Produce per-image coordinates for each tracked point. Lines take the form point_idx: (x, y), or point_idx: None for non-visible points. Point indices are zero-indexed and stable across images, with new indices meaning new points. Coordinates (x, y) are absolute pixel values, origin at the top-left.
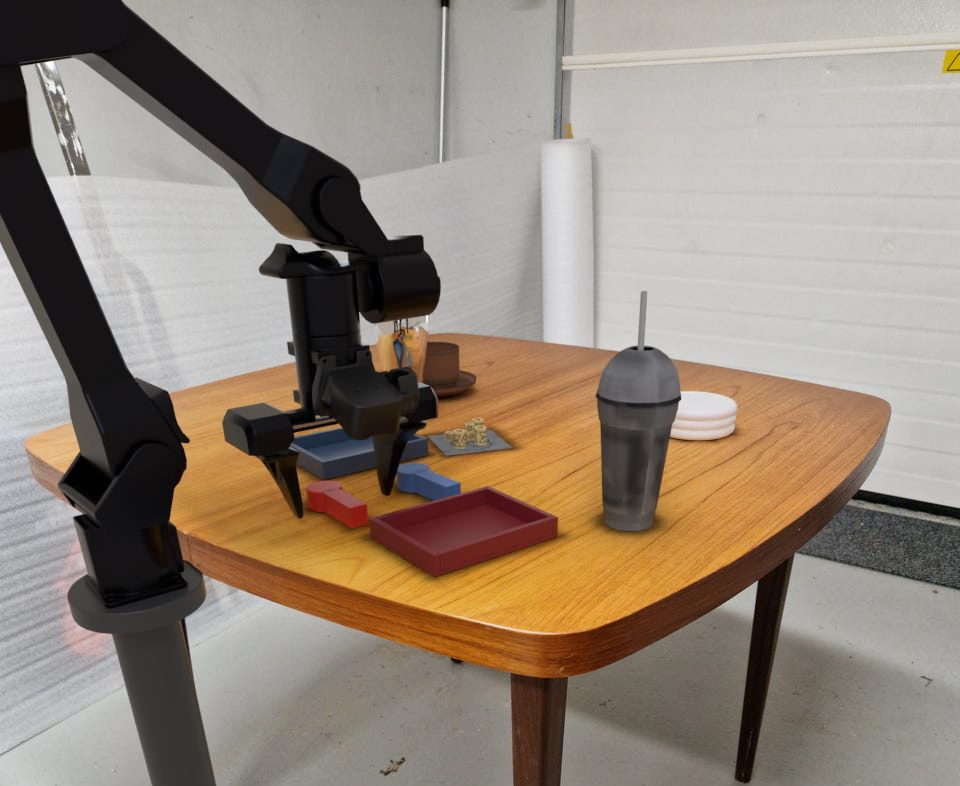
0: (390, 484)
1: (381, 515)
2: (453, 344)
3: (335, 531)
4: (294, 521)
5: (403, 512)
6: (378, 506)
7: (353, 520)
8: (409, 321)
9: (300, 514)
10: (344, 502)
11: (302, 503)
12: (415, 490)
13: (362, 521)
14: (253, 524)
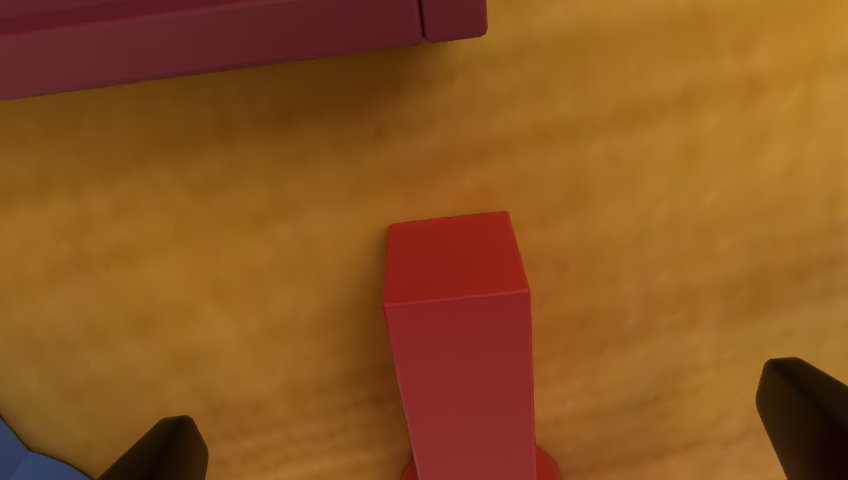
0: (128, 469)
1: (357, 37)
2: None
3: (600, 224)
4: (688, 414)
5: (132, 17)
6: (253, 396)
7: (493, 238)
8: None
9: (806, 370)
10: (506, 387)
11: (839, 424)
12: (19, 458)
13: (428, 232)
14: None
